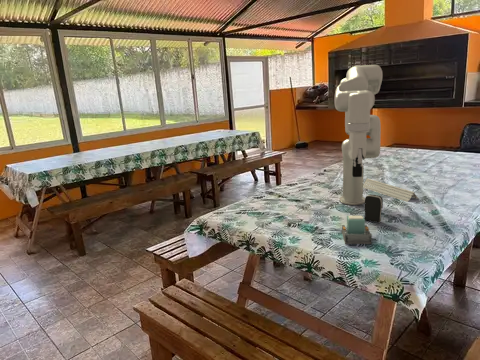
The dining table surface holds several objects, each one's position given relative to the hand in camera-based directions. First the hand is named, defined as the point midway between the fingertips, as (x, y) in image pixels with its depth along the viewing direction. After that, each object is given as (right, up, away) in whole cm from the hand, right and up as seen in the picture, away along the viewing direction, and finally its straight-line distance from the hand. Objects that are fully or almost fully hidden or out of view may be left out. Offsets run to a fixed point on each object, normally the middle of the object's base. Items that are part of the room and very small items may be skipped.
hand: (357, 176), depth 132 cm
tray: (+1, -24, +5) cm, 25 cm away
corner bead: (+35, -9, +54) cm, 65 cm away
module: (+1, -23, +6) cm, 24 cm away
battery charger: (+14, -19, +21) cm, 31 cm away
